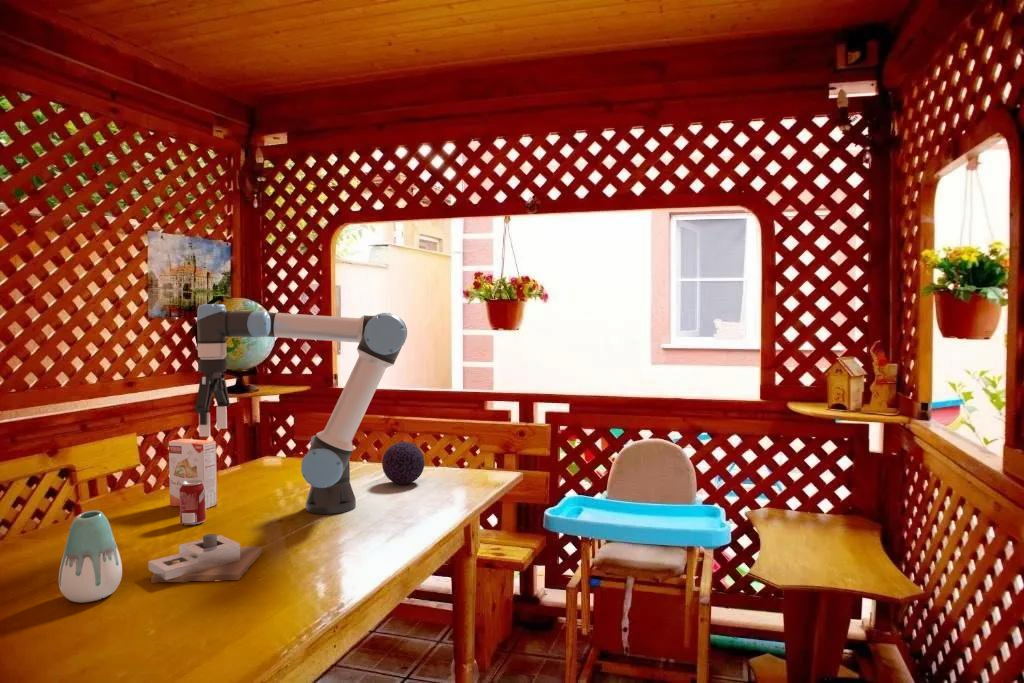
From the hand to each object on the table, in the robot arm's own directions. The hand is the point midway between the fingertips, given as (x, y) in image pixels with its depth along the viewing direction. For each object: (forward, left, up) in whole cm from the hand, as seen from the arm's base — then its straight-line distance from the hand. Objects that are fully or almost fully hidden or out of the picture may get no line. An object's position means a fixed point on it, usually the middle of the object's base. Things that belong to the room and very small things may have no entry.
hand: (213, 432), depth 198 cm
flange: (-8, +37, -25) cm, 46 cm away
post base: (-11, +35, -27) cm, 45 cm away
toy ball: (-50, -45, -27) cm, 72 cm away
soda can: (+7, -2, -27) cm, 28 cm away
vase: (+8, +51, -27) cm, 58 cm away
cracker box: (+14, -21, -27) cm, 37 cm away
